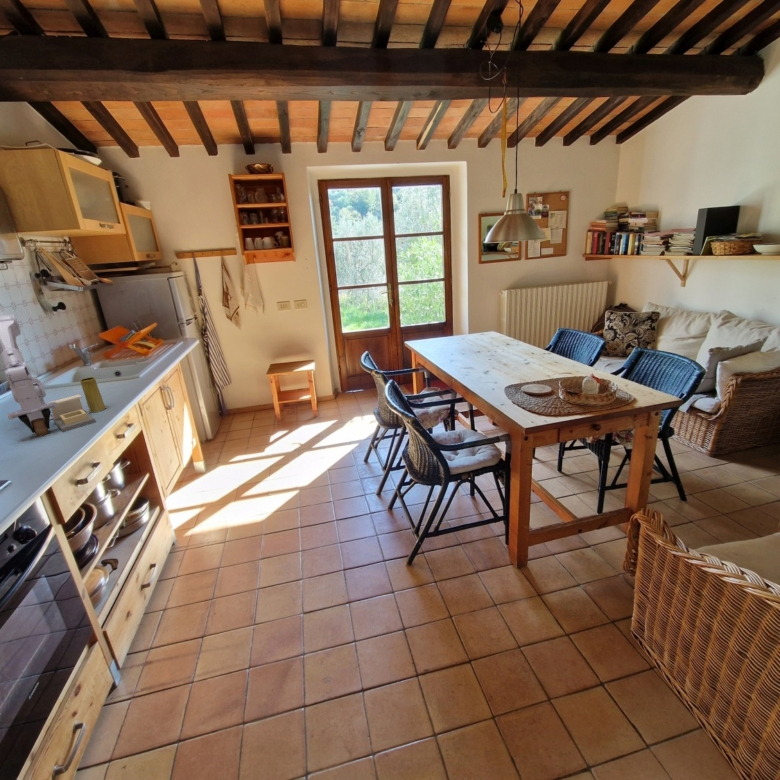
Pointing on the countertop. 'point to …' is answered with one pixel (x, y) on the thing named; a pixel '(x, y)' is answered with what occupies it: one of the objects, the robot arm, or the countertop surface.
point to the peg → (39, 427)
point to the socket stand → (70, 413)
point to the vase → (92, 394)
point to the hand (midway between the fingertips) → (41, 430)
